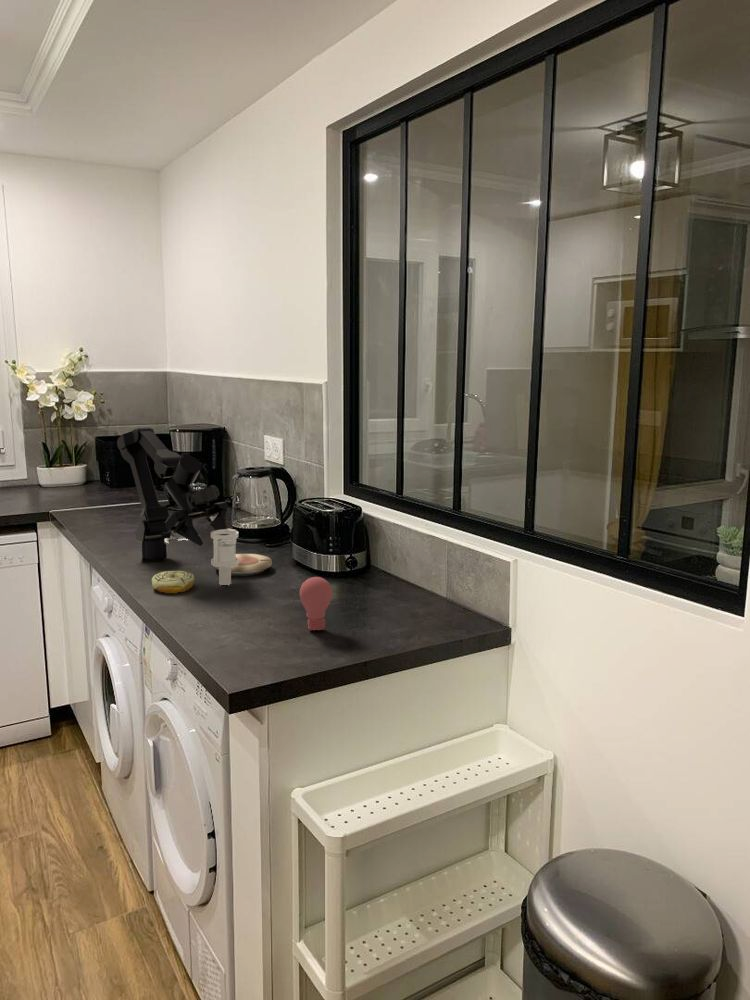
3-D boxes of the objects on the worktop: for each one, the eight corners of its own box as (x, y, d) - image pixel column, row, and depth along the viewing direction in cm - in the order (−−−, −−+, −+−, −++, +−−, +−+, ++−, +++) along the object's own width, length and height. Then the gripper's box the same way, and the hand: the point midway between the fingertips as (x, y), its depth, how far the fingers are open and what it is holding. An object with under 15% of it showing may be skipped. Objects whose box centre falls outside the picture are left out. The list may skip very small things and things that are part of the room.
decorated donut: (147, 595, 186) (147, 580, 185) (157, 582, 196) (156, 568, 196) (190, 595, 186) (189, 580, 186) (197, 582, 197) (197, 568, 196)
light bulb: (299, 624, 167) (299, 572, 165) (331, 624, 168) (332, 573, 166) (298, 636, 160) (299, 582, 158) (332, 636, 161) (333, 582, 159)
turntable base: (221, 576, 202) (220, 571, 202) (220, 564, 214) (220, 559, 213) (265, 575, 205) (265, 569, 204) (263, 563, 216) (263, 558, 216)
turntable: (213, 573, 200) (213, 569, 199) (213, 557, 215) (213, 554, 215) (273, 571, 203) (273, 567, 203) (269, 556, 218) (269, 552, 218)
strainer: (225, 589, 191) (225, 532, 188) (205, 584, 195) (204, 528, 192) (244, 583, 197) (244, 527, 194) (224, 578, 200) (223, 524, 198)
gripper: (171, 480, 188) (203, 529, 184) (224, 472, 203) (255, 517, 199) (151, 507, 193) (181, 555, 189) (204, 497, 209) (233, 542, 205)
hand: (214, 541), depth 195 cm, fingers open, 9 cm apart
